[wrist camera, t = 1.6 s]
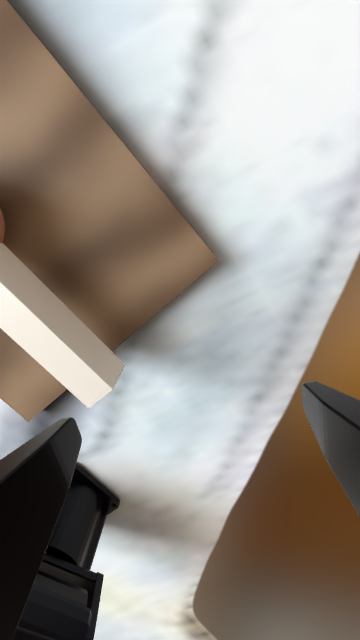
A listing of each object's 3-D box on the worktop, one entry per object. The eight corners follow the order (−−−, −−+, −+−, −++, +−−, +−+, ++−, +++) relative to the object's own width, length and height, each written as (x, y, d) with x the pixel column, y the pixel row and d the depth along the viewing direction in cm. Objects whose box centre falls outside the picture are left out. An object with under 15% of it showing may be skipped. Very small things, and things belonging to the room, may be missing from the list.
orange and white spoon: (-110, 214, 16) (-176, 210, 13) (-57, 140, 15) (-118, 118, 12) (87, 395, 19) (68, 424, 16) (144, 348, 18) (135, 371, 15)
